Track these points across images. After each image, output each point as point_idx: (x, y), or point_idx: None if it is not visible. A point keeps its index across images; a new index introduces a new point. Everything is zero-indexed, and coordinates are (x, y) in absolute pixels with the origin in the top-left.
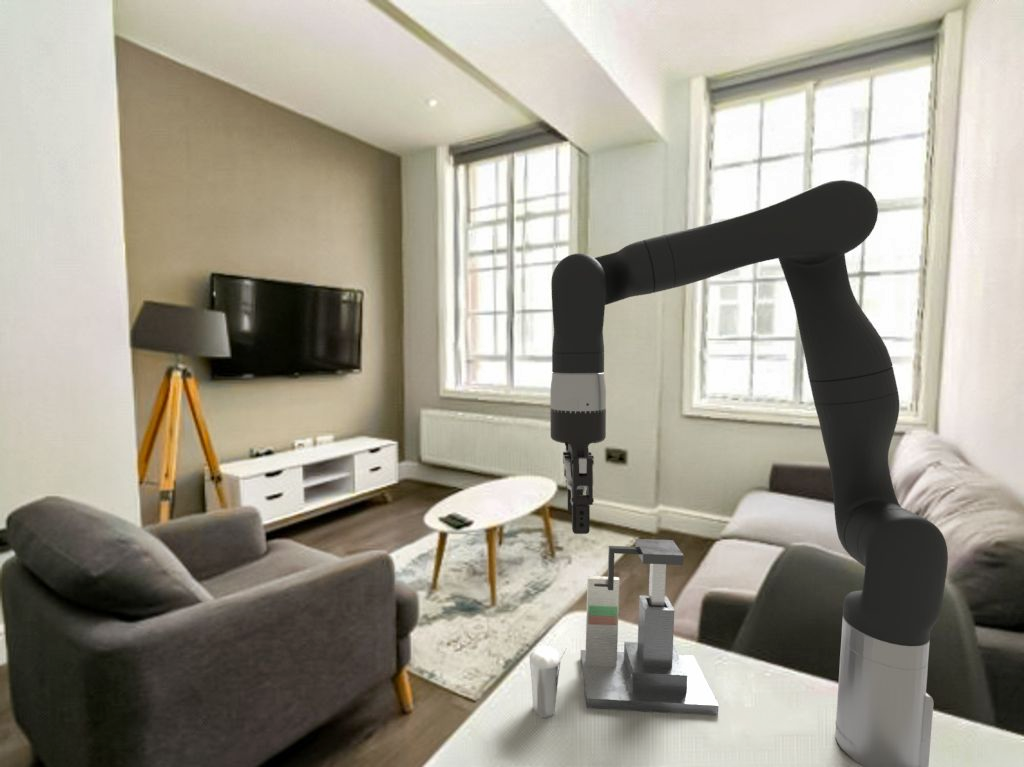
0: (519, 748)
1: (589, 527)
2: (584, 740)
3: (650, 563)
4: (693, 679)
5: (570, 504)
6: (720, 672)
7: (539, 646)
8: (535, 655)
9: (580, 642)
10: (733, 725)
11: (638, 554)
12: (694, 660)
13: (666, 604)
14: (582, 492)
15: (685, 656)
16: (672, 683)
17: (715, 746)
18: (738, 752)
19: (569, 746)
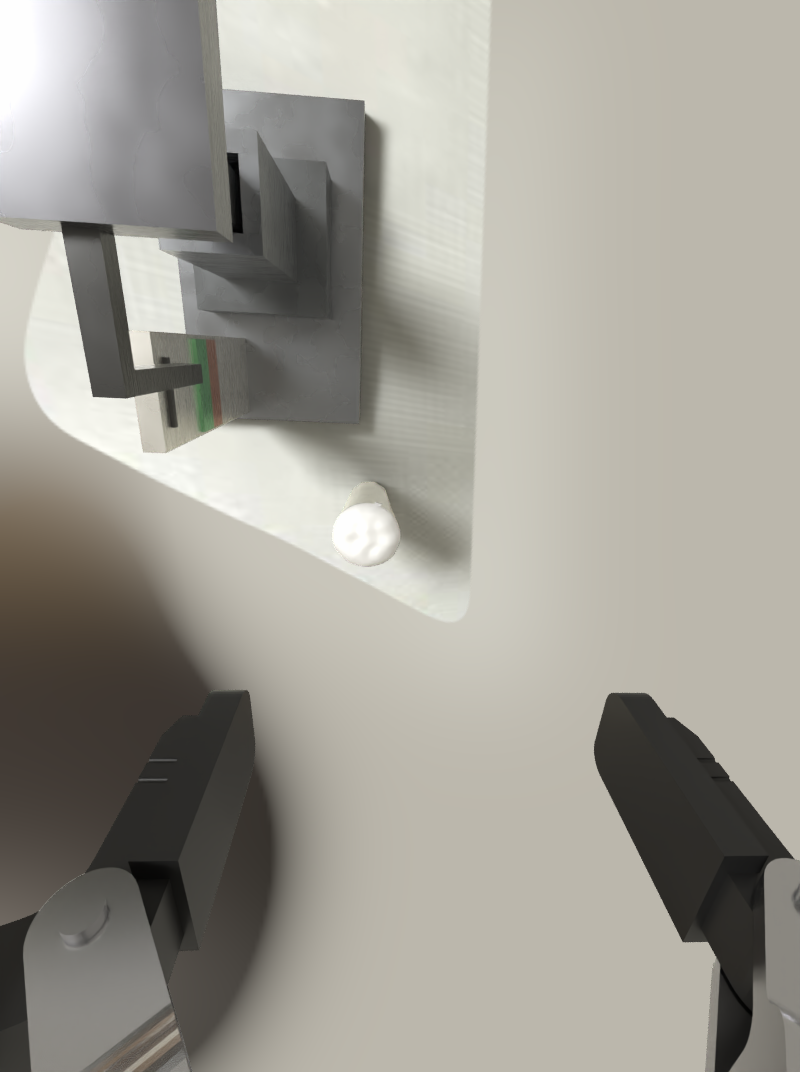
0: (453, 538)
1: (659, 711)
2: (437, 436)
3: (227, 195)
4: (270, 132)
5: (240, 793)
6: None
7: (348, 552)
8: (379, 560)
9: None
10: (395, 84)
11: (120, 235)
12: None
13: None
14: (196, 820)
15: None
16: (328, 212)
17: (454, 166)
18: (471, 115)
19: (450, 462)
